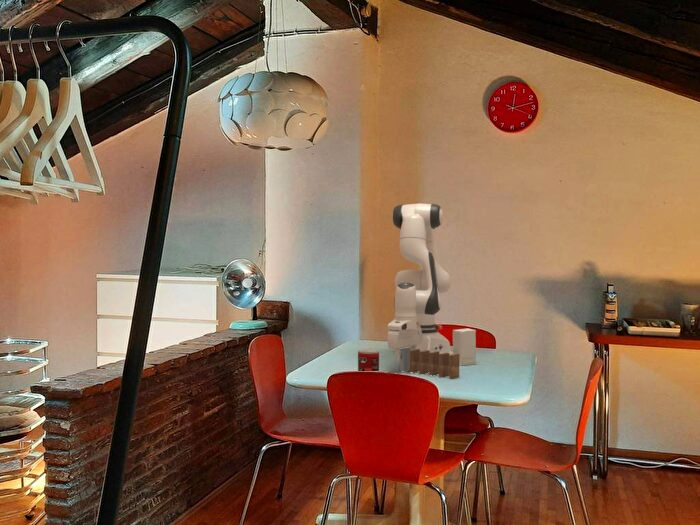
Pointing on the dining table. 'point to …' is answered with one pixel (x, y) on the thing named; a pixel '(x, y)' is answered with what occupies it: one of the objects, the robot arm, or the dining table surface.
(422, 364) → the domino
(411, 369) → the domino
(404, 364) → the domino
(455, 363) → the domino
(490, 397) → the dining table surface
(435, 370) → the domino
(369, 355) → the canned food
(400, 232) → the robot arm
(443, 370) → the domino
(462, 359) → the skincare box
